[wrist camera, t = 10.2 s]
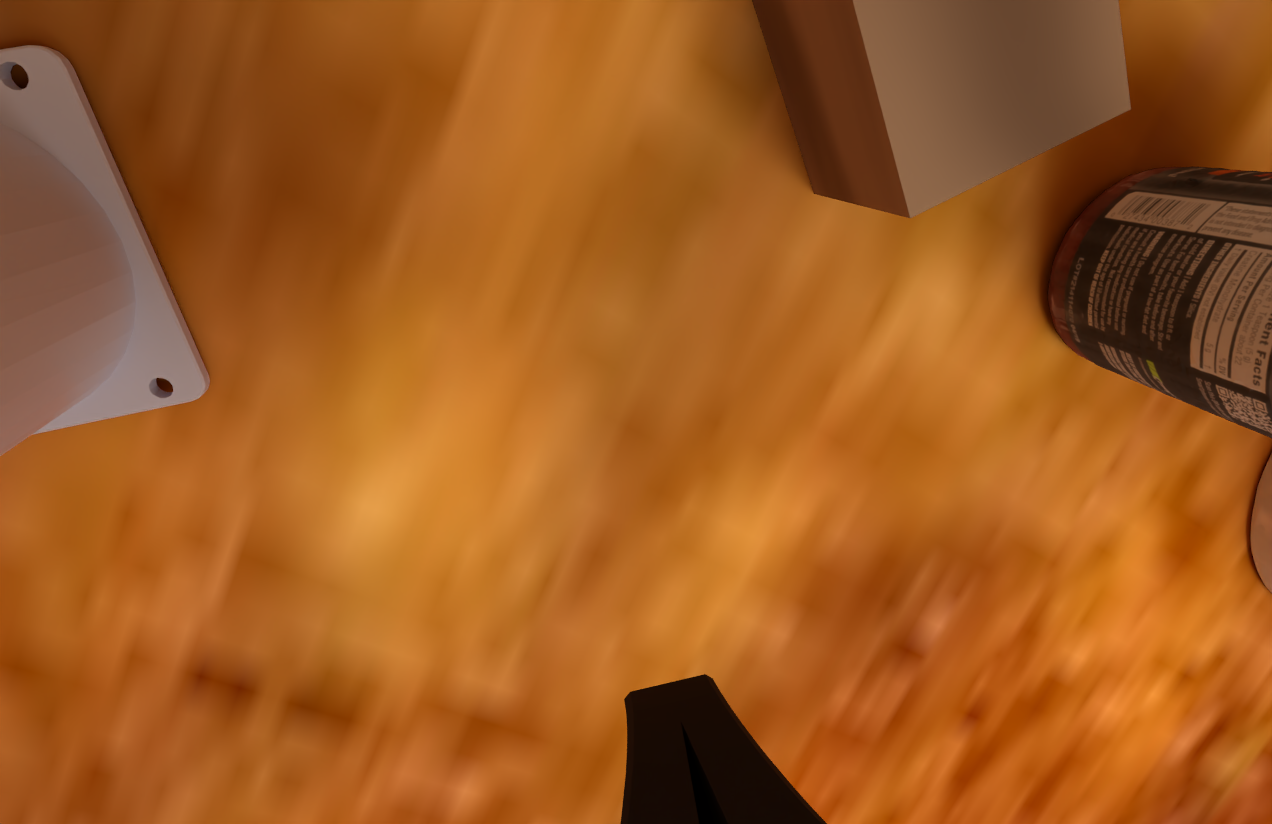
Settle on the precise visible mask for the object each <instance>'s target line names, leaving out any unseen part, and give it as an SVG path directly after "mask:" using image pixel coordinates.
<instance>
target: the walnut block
mask: <svg viewBox="0 0 1272 824" xmlns="http://www.w3.org/2000/svg"><path fill="white" fill-rule="evenodd" d="M752 2H753V5H754V8H755V11H756V14H757V17H758V20H759V23H760V27H761V30H762V33H763V36H764V39H765V42H766V45H767V48H768V51H769V55H770V58H771V61H772V64H773V67H774V70H775V73H776V76H777V79H778V83H779V86H780V89H781V92H782V95H783V98H784V101H785V104H786V108H787V111H788V114H789V117H790V120H791V123H792V126H793V129H794V132H795V136H796V139H797V142H798V145H799V148H800V151H801V154H802V157H803V160H804V164H805V167H806V170H807V173H808V176H809V179H810V182H811V185H812V188H813V192H814V194H817V195H821V196H825V197H829V198H833V199H837V200H841V201H845V202H849V203H853V204H857V205H861V206H865V207H868V208H872V209H876V210H880V211H884V212H888V213H892V214H896V215H900V216H904V217H908V218H912V217H914V216H916V215H918V214H920V213H922V212H924V211H926V210H928V209H930V208H932V207H934V206H936V205H938V204H940V203H942V202H944V201H946V200H948V199H950V198H952V197H954V196H956V195H958V194H960V193H962V192H964V191H966V190H968V189H970V188H972V187H974V186H976V185H979V184H981V183H983V182H985V181H987V180H989V179H991V178H993V177H995V176H997V175H999V174H1001V173H1003V172H1005V171H1007V170H1009V169H1011V168H1013V167H1015V166H1017V165H1019V164H1021V163H1023V162H1025V161H1027V160H1029V159H1031V158H1033V157H1035V156H1037V155H1039V154H1041V153H1043V152H1045V151H1047V150H1049V149H1051V148H1053V147H1055V146H1057V145H1059V144H1062V143H1064V142H1066V141H1068V140H1070V139H1072V138H1074V137H1076V136H1078V135H1080V134H1082V133H1084V132H1086V131H1088V130H1090V129H1092V128H1094V127H1096V126H1098V125H1100V124H1102V123H1104V122H1106V121H1108V120H1110V119H1112V118H1114V117H1116V116H1118V115H1120V114H1122V113H1124V112H1126V111H1128V110H1130V109H1131V105H1130V96H1129V87H1128V79H1127V70H1126V62H1125V53H1124V45H1123V36H1122V27H1121V19H1120V10H1119V2H1118V0H752Z"/></svg>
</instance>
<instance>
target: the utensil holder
mask: <svg viewBox="0 0 1272 824" xmlns="http://www.w3.org/2000/svg"><path fill="white" fill-rule="evenodd" d="M1250 540H1251V550H1252V555H1253V559H1254V562H1255V565H1256V568H1257V571H1258V573H1259V575H1260V577H1261V579H1262V581H1263V583H1264V585H1265V586H1266V587H1267V588H1268V590H1269V591H1270V592H1271V593H1272V453H1271V456H1270V458H1269V460H1268V462H1267V464H1266V467H1265V469H1264V471H1263V474H1262V477H1261V479H1260V482H1259V484H1258V487H1257V493H1256V498H1255V503H1254V508H1253V513H1252V520H1251V535H1250Z"/></svg>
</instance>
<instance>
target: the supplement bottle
mask: <svg viewBox="0 0 1272 824" xmlns="http://www.w3.org/2000/svg"><path fill="white" fill-rule="evenodd" d="M1048 300H1049V308H1050V313H1051V316H1052V320H1053V324H1054V326H1055V328H1056V330H1057V332H1058V334H1059V335H1060V337H1061V338H1062V340H1063V341H1064V343H1065V344H1066V345H1068V346H1069V347H1070V348H1071V349H1072V350H1073V351H1074V352H1076V353H1077V354H1078V355H1080V356H1082V357H1084V358H1085V359H1087V360H1089V361H1091V362H1094V363H1095V364H1096V365H1098V366H1100V367H1103V368H1105V369H1107V370H1110V371H1113V372H1115V373H1117V374H1120V375H1122V376H1124V377H1127V378H1129V379H1131V380H1134V381H1137V382H1139V383H1141V384H1143V385H1146V386H1148V387H1151V388H1154V389H1156V390H1158V391H1160V392H1162V393H1164V394H1166V395H1169V396H1171V397H1174V398H1176V399H1179V400H1182V401H1184V402H1186V403H1188V404H1191V405H1193V406H1196V407H1198V408H1200V409H1202V410H1205V411H1208V412H1210V413H1212V414H1214V415H1217V416H1220V417H1222V418H1225V419H1227V420H1229V421H1231V422H1234V423H1237V424H1238V425H1241V426H1243V427H1246V428H1249V429H1251V430H1254V431H1256V432H1258V433H1261V434H1263V435H1266V436H1268V437H1270V438H1272V172H1258V171H1241V170H1229V169H1223V168H1206V167H1164V168H1157V169H1151V170H1147V171H1143V172H1141V173H1138V174H1135V175H1129V176H1127V177H1126V178H1124V179H1123V180H1121V181H1119V182H1118V183H1116V184H1115V185H1113V186H1111V187H1110V188H1109V189H1107V190H1106V191H1104V192H1103V193H1102V194H1101V195H1100V196H1099V197H1097V198H1096V199H1095V200H1094V201H1093V202H1092V203H1091V204H1090V205H1089V206H1088V207H1086V208H1085V209H1084V210H1083V212H1082V213H1081V215H1080V216H1079V217H1078V218H1077V219H1075V221H1074V223H1073V225H1072V226H1071V227H1070V229H1069V230H1068V232H1067V233H1066V234H1065V237H1064V239H1063V241H1062V243H1061V245H1060V248H1059V250H1058V251H1057V254H1056V257H1055V260H1054V262H1053V268H1052V272H1051V276H1050V280H1049V290H1048Z"/></svg>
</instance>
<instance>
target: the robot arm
mask: <svg viewBox="0 0 1272 824" xmlns="http://www.w3.org/2000/svg"><path fill="white" fill-rule="evenodd" d="M16 64H18V65H20V66H22V67H23V69H24V70H25V71H26V72H27V74H28V79H29V82H28V85H27V87H26V88H24V89H21V88H20V87H18V86H17V85H16V84H15V83H14V81H13V80H12V77H11V69H12V67H13V66H14V65H16ZM157 378H164V379H166V380H168V381H169V382H170V383H171V384H172V386H173V392H165V391H163V390H161V389H160V388H159V387H158V385H157V382H156V379H157ZM209 384H210V380H209V375H208V372H207V370H206V368H205V366H204V363H203V361H202V359H201V357H200V354H199V352H198V350H197V347H196V345H195V343H194V341H193V338H192V336H191V334H190V332H189V329H188V327H187V325H186V322H185V320H184V318H183V316H182V313H181V311H180V309H179V306H178V304H177V302H176V300H175V297H174V295H173V293H172V291H171V288H170V286H169V284H168V281H167V279H166V277H165V275H164V272H163V270H162V268H161V266H160V263H159V261H158V259H157V256H156V254H155V252H154V250H153V247H152V245H151V243H150V240H149V238H148V236H147V234H146V231H145V229H144V227H143V225H142V222H141V220H140V218H139V215H138V213H137V211H136V209H135V206H134V204H133V202H132V200H131V197H130V195H129V193H128V190H127V188H126V186H125V184H124V181H123V179H122V177H121V175H120V172H119V170H118V168H117V165H116V163H115V161H114V159H113V156H112V154H111V152H110V149H109V147H108V145H107V143H106V140H105V138H104V136H103V134H102V131H101V129H100V127H99V124H98V122H97V120H96V118H95V115H94V113H93V111H92V109H91V106H90V104H89V102H88V99H87V97H86V95H85V93H84V90H83V88H82V86H81V84H80V81H79V79H78V77H77V74H76V72H75V70H74V68H73V66H72V65H71V63H70V62H69V60H68V59H67V58H66V57H65V56H63V55H62V54H61V53H60V52H59V51H56V50H54V49H52V48H49V47H45V46H35V45H26V46H20V47H14V48H8V49H1V50H0V456H1V455H3V454H4V453H6V452H7V451H9V450H10V449H11V448H13V447H14V446H16V445H17V444H19V443H20V442H22V441H23V440H25V439H26V438H28V437H29V436H30V435H32V434H37V433H42V432H47V431H52V430H56V429H61V428H66V427H71V426H76V425H80V424H85V423H90V422H95V421H100V420H104V419H109V418H114V417H119V416H124V415H129V414H133V413H138V412H143V411H148V410H153V409H157V408H162V407H167V406H172V405H177V404H181V403H186V402H191V401H194V400H196V399H198V398H200V397H201V396H202V395H203V394H204V393H205V392H206V391H207V389H208V388H209ZM624 700H625V707H626V714H627V764H626V778H625V788H624V798H623V807H622V817H621V824H827V823H826V822H825V821H824V820H823V819H822V818H821V817H820V816H819V815H818V814H817V813H816V812H815V811H814V810H813V809H812V807H811V806H810V805H809V804H808V803H807V802H806V801H805V800H804V799H803V797H802V796H801V795H800V794H799V793H798V792H797V791H796V790H795V788H794V787H793V786H792V785H791V784H790V783H789V781H788V780H787V779H786V778H785V777H784V775H783V774H782V773H781V772H780V771H779V770H778V768H777V767H776V766H775V765H774V764H773V762H772V761H771V760H770V759H769V758H768V756H767V755H766V754H765V753H764V752H763V750H762V749H761V748H760V746H759V745H758V744H757V743H756V741H755V740H754V739H753V737H752V736H751V735H750V733H749V732H748V731H747V729H746V728H745V727H744V725H743V724H742V723H741V721H740V720H739V719H738V717H737V716H736V714H735V713H734V712H733V710H732V709H731V707H730V706H729V704H728V703H727V701H726V700H725V698H724V697H723V695H722V694H721V692H720V690H719V689H718V687H717V685H716V684H715V682H714V680H713V678H711V677H709V676H707V675H706V674H704V675H700V676H696V677H692V678H687V679H683V680H679V681H675V682H670V683H666V684H662V685H658V686H653V687H649V688H645V689H640V690H636V691H632V692H630V693H629V694H628V695H627V696H626V698H625V699H624Z"/></svg>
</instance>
